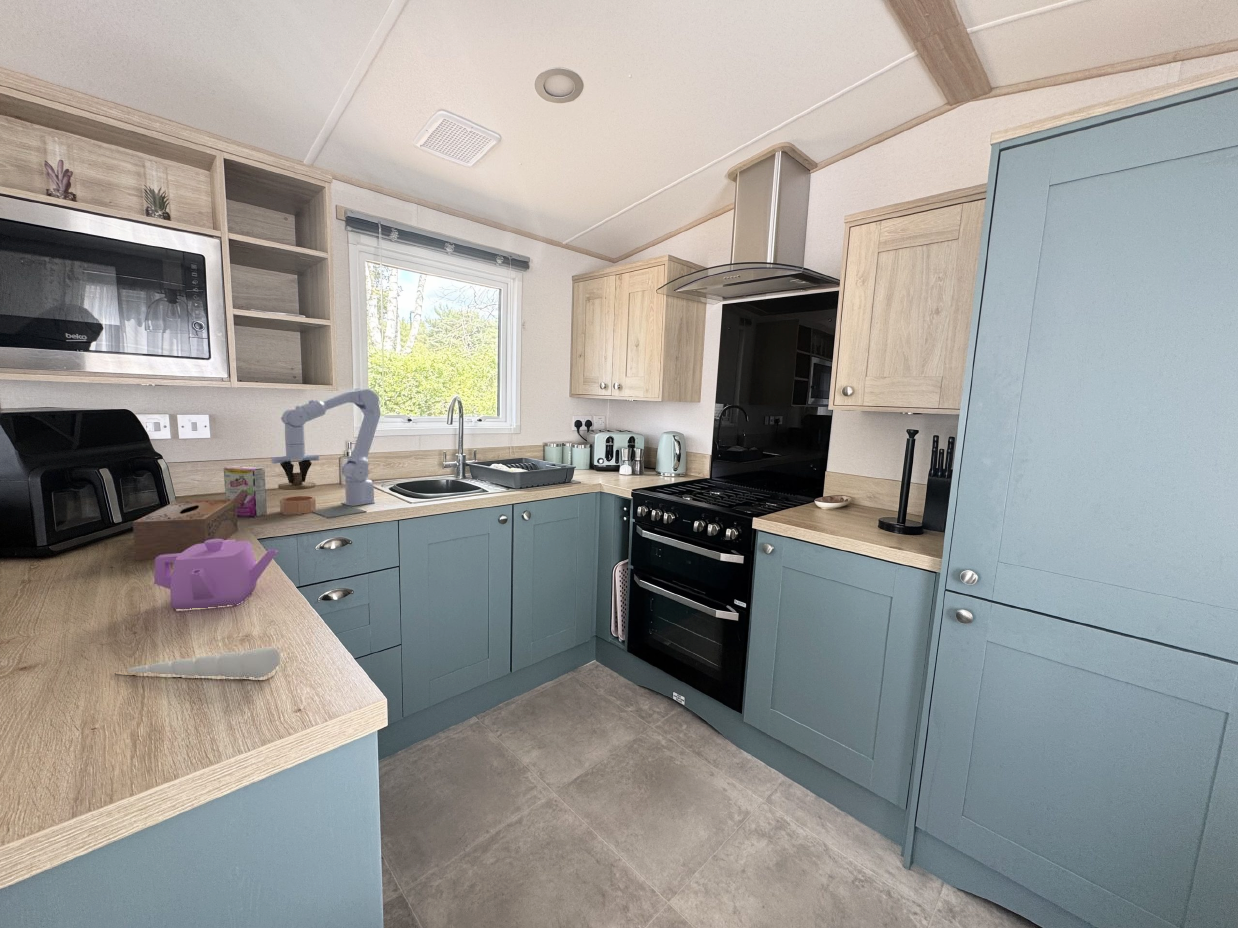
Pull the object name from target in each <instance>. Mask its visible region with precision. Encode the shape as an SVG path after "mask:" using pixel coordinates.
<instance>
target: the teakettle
mask: <svg viewBox="0 0 1238 928" xmlns="http://www.w3.org/2000/svg"><path fill="white" fill-rule="evenodd" d="M278 552H279V550H275V549H268V550H266V553H265V554H264V555H263V556H262V557H261V558H260V559H259V560H258V561H257V562H256V557H255V554H254V551H253V547H252V544H251V542H250V541H249V540H237V539H227V540H223V539H211V540H207V541H205V542H204V543H202V544H196V545H193V546H191V547H190V548H188V549H186V550H185V551H183V552H182V553H176V554H165V555H160V556H158V557H156V558H155V559H154V575H153V576H154V578H153V579H154V582H153V583H154V585H156V586H158V587H159V586H160V587H163V588H165V589H167V590H168V589H169V590H170V591H169V593H170V594H169V595H170V596H169V598H170V599H169V600H170V604H171V608H172V609H173V610H174V609H190V608H191V609H192V608H208V607H218V606H227V605H237V604H239V603H241V602H242V601H244V600H245V599H246V598H247V597H248V596H249V595H250V594H251V593H252V592H253V593H254V591H255V589H256V586H257V583H258V580H259V578H260V577H261V575H262V574H263V573H264V571H265V570H266V569H267V568H268V566H269V565H270V564H271V562H272V561H273V559H274V557H275V556H276V555H277V554H278ZM171 563H173V567H172V568H171ZM171 569H172V570H171ZM253 590H254V591H253ZM253 593H252V594H253ZM252 594H251V595H252ZM251 595H250V596H251ZM250 596H249V597H250ZM249 597H248V598H249ZM248 598H247V599H248ZM247 599H246V600H247ZM246 600H245V601H246ZM245 601H244V602H245Z"/></svg>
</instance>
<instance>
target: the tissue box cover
mask: <svg viewBox="0 0 1238 928" xmlns="http://www.w3.org/2000/svg"><path fill="white" fill-rule="evenodd" d="M132 525H133V526H132V528H133V538H134V549H135V560H136V561H145V560H155V558H156V557H158V556H160V555H165V554H176V553H182V552H183V551H185V550H186V549H188V548H190V547H191V546H193V545H196V544H202V543H204V542H205V541H207V540H211V539H223V540H229V539H230V538H231V537H233V535H234V534H236V533H237V532H238V531H239V529H238V528H239V526H238V516H237V507H236V499H226V498H225V499H201V500H199V499H198V500H197V499H196V500H194V499H193V500H176V501H174V502H171V503H169V504H167V505H165V506H163V507H161V508H159V509H157V510H155V511H153V512H151V513H149V514H146V515H145V516H141V518H138V519H136V520H134V521H133V522H132Z"/></svg>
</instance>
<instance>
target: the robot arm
mask: <svg viewBox="0 0 1238 928" xmlns="http://www.w3.org/2000/svg"><path fill="white" fill-rule="evenodd" d="M379 401H380V397H379V396H378V394H377V392H375V390H373V389H372V388H359V387H358V388H353V389H350V390H346V391H344V392H342V393H340V394H336V395H335V396H332V397H330V398H328V399H326V400H323V401H320V400H318V399H316V400H314V399H311V400H308V403H305V404H302V405H296V406H295V409H287V410H285V411H284V412H283V413H282V416H281V417H280V418H281V422H282V423H283V424H284V441H285V455H284V456H275V457H270V459H271V464H273V465H277V464H280V467H282V469H283V471H284V473H285V475H286V477H287V482H288V483H293V473H294V464H293V463H298V467H299V473H302V482H306V479H307V474H308V472H309V470H310V467H311V466H312V461H313V462H314V461H315V462H317V461H318V462H319V461H320V455H319V454H306V444H305V443H306V442H305V427H304V426H305V424H306V422H307V423H308V422H310V421H312V420H315V419H317V418H320V417H322V416H325V415H326V412H327V411H328V410H331V409H333V408H336V407H339V406H342V405H345V404H348V403H353V404H354V405H355V406H356V407H358V408H359V409H360V411H361V412H362V413H363V419H362V421H361V424H360V428H359V430H358V435H357V438H356V440H355V443H354V447H353V450H352V454H351V455H349V457H348V458H347V461H346V463H344V464H343V466H342V467H341V474H342V475H343V477H345V478H344V489H345V490H344V491H345V493H344V494H345V496H344V497H345V501H343V500H342V501H340V503H341V504H344V505H345V506H352V507H355V506H360V505H367V504H368V505H369V504H374V503H376V501H375V489H374V488H375V487H374V483H373V481H372V480H371V479H368V476H369V472H370V471H369V466H370V462H369V459H368V456H369V453H370V449H371V447H372V443H373V442H374V441H373V440H374V437H375V433H376V431H377V427H378V425H379V421H380V418H381V408H380V403H379Z"/></svg>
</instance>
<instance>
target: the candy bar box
mask: <svg viewBox="0 0 1238 928" xmlns="http://www.w3.org/2000/svg"><path fill="white" fill-rule="evenodd" d="M265 473H266V472H265V468H264V467H257V466H256V467H255V466H238V465H234V466H233V465H232V466H227V467H224V468H223V475H224V476H223V477H224V479H223V481H224V493H225V499H236V507H237V517H245V516H256V517H255V518H258V517H257V516H260V517H262V516H261V515H263V516H265V514H266V515H267V514H268V512H267V509H268V507H267V493H266V492H267V491H266V489H267V488H266V475H265Z"/></svg>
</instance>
